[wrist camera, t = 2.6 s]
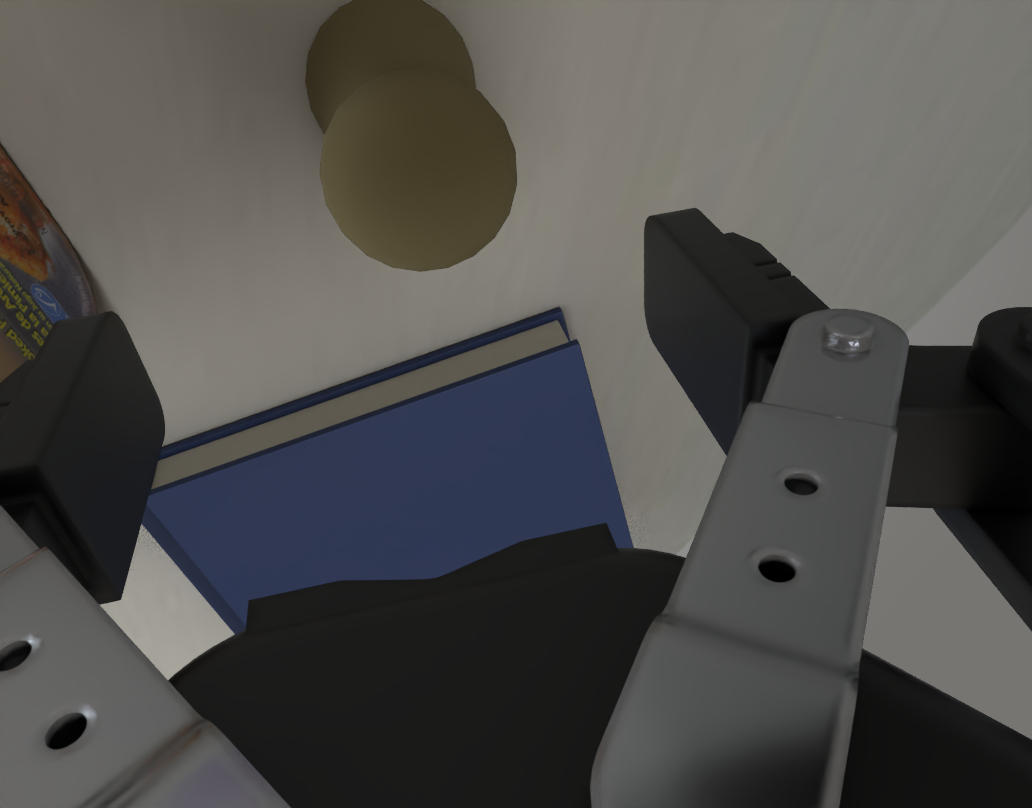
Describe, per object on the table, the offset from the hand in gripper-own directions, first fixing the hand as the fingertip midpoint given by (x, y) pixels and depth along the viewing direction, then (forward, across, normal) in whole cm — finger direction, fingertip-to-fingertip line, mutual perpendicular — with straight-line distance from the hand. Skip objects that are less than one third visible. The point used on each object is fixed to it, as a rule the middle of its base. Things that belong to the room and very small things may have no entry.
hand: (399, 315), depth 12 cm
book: (+19, +2, +20) cm, 28 cm away
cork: (+19, -1, +1) cm, 19 cm away
